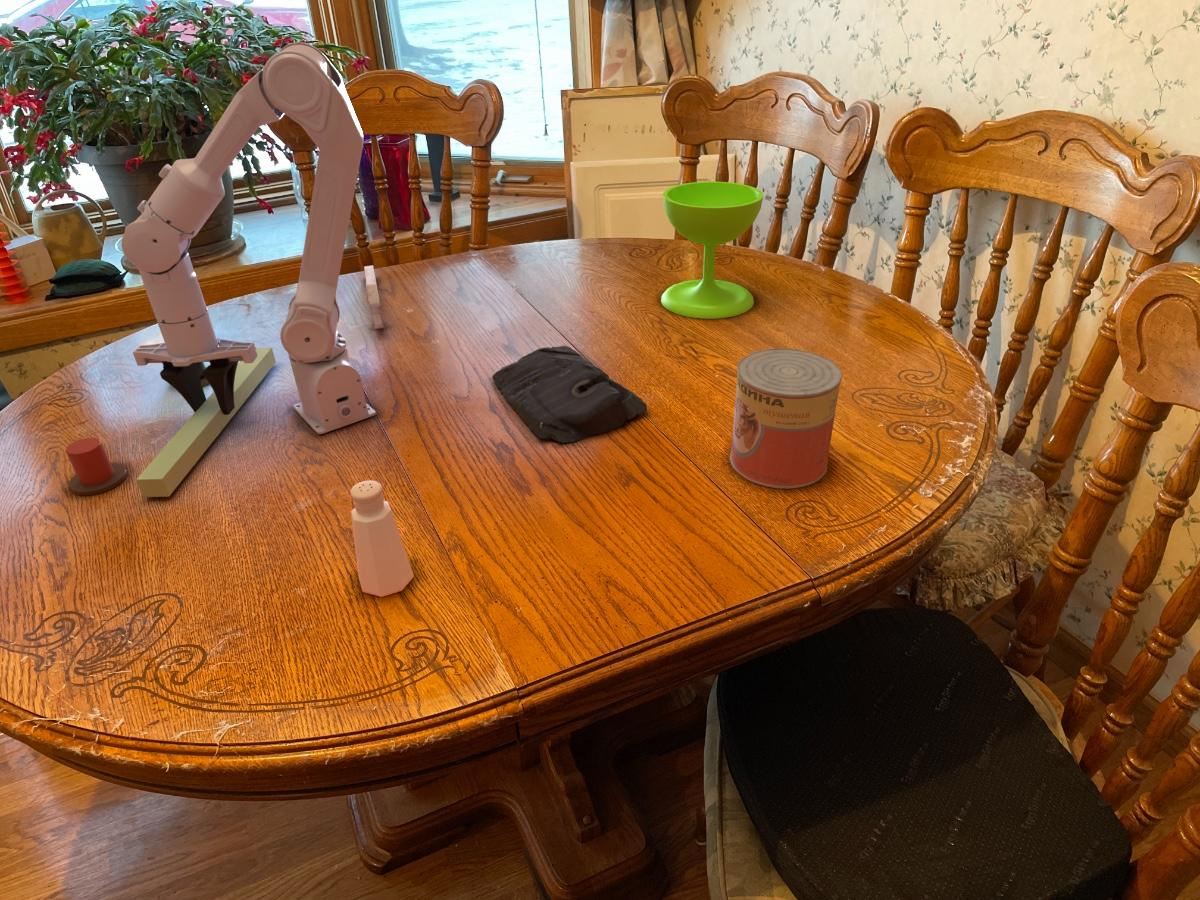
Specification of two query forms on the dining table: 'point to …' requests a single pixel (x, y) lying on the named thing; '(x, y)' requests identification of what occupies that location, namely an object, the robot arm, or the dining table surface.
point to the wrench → (373, 297)
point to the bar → (201, 431)
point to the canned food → (784, 417)
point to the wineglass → (710, 244)
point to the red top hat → (93, 468)
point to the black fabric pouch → (565, 395)
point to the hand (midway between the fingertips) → (215, 411)
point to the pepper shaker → (377, 542)
